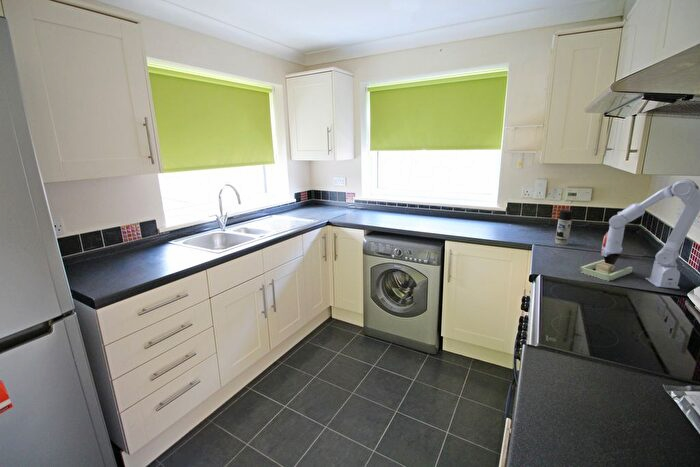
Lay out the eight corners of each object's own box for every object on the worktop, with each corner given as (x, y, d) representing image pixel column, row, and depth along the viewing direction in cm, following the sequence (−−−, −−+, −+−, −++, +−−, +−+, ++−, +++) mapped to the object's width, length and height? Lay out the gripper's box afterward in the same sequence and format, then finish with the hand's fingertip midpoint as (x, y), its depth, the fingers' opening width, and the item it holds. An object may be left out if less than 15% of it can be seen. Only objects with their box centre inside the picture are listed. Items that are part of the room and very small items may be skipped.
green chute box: (602, 264, 170) (603, 259, 169) (631, 272, 160) (632, 267, 159) (578, 272, 160) (579, 267, 159) (608, 281, 150) (609, 275, 149)
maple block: (600, 270, 163) (602, 262, 162) (612, 273, 158) (614, 265, 157) (595, 271, 160) (596, 263, 159) (607, 275, 156) (608, 267, 155)
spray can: (552, 243, 205) (557, 210, 200) (557, 241, 209) (562, 209, 204) (564, 246, 200) (570, 212, 195) (569, 243, 204) (575, 211, 199)
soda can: (609, 257, 180) (613, 235, 177) (597, 253, 187) (601, 232, 184) (620, 256, 181) (624, 234, 178) (608, 252, 188) (612, 231, 185)
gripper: (612, 236, 164) (607, 263, 168) (596, 240, 157) (591, 268, 161) (629, 239, 158) (623, 267, 162) (613, 244, 151) (608, 273, 155)
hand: (608, 268), depth 161 cm, fingers closed
